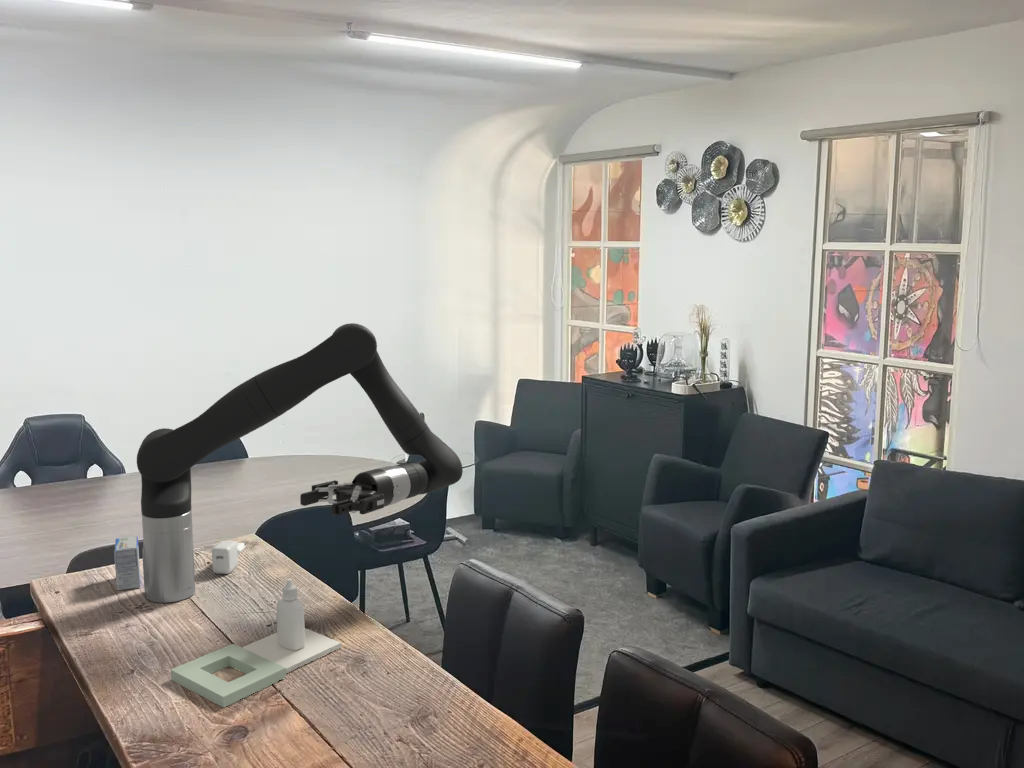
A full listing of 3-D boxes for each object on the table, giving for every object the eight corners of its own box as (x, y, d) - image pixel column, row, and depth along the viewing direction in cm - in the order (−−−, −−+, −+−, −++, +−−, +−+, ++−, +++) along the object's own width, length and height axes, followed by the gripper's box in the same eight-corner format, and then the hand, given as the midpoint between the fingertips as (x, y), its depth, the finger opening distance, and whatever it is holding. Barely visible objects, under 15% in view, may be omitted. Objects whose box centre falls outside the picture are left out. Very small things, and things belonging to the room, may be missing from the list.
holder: (171, 679, 150) (170, 669, 150) (233, 653, 160) (232, 643, 159) (223, 707, 142) (223, 696, 142) (286, 678, 151) (285, 667, 151)
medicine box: (140, 588, 187) (138, 547, 186) (116, 591, 185) (113, 550, 184) (140, 574, 194) (138, 535, 193) (117, 577, 193) (114, 537, 191)
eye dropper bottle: (302, 636, 164) (300, 572, 162) (305, 650, 159) (304, 584, 157) (277, 639, 163) (275, 575, 161) (279, 653, 158) (277, 587, 156)
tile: (241, 652, 160) (241, 647, 160) (296, 629, 169) (296, 624, 169) (286, 673, 153) (286, 668, 153) (341, 648, 162) (341, 642, 162)
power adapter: (229, 555, 206) (228, 530, 205) (250, 556, 205) (249, 531, 204) (209, 574, 195) (208, 548, 194) (231, 575, 194) (230, 549, 193)
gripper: (356, 461, 183) (291, 477, 170) (408, 475, 174) (344, 493, 161) (355, 498, 184) (291, 516, 171) (407, 513, 175) (344, 534, 163)
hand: (317, 505), depth 166 cm, fingers open, 8 cm apart
